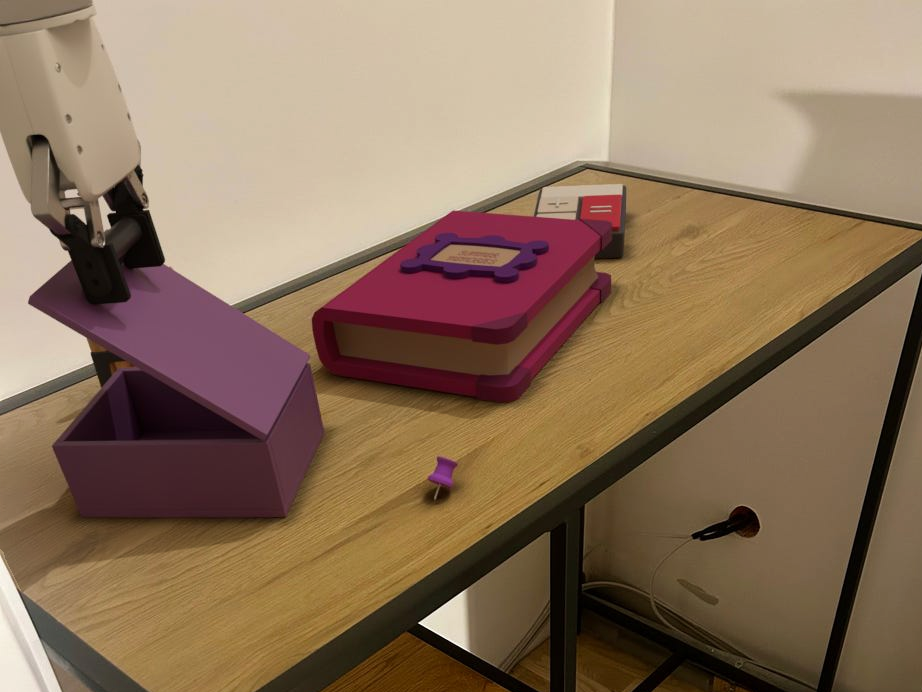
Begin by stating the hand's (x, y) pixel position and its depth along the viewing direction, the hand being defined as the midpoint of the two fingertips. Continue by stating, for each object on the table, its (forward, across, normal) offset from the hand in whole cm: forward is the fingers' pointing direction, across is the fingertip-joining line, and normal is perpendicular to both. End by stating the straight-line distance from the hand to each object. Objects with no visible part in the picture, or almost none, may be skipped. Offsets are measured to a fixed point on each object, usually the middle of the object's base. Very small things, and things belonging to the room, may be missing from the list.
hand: (128, 281), depth 71 cm
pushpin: (+18, +3, +22) cm, 28 cm away
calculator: (+18, -54, +31) cm, 65 cm away
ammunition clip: (+16, -15, -9) cm, 24 cm away
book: (+17, -28, +21) cm, 39 cm away
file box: (+17, 0, +1) cm, 17 cm away
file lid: (+4, 0, +3) cm, 5 cm away
